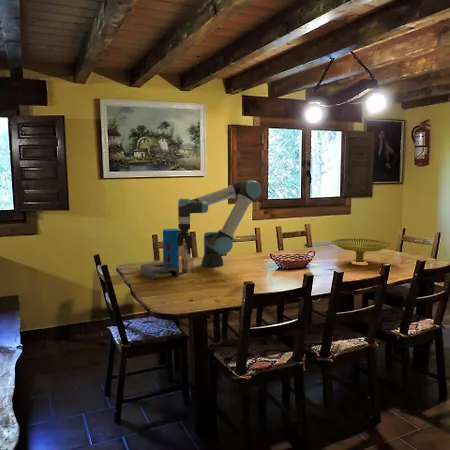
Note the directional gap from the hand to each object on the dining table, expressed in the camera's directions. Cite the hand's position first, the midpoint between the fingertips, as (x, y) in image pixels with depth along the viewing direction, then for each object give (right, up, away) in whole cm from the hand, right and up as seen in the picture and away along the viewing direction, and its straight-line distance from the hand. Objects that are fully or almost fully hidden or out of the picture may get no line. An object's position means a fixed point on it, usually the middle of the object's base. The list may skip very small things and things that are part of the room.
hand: (184, 257), depth 285 cm
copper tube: (0, -10, +1) cm, 10 cm away
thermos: (-11, -7, +20) cm, 24 cm away
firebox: (-15, -11, -7) cm, 20 cm away
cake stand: (+121, -7, +29) cm, 125 cm away
